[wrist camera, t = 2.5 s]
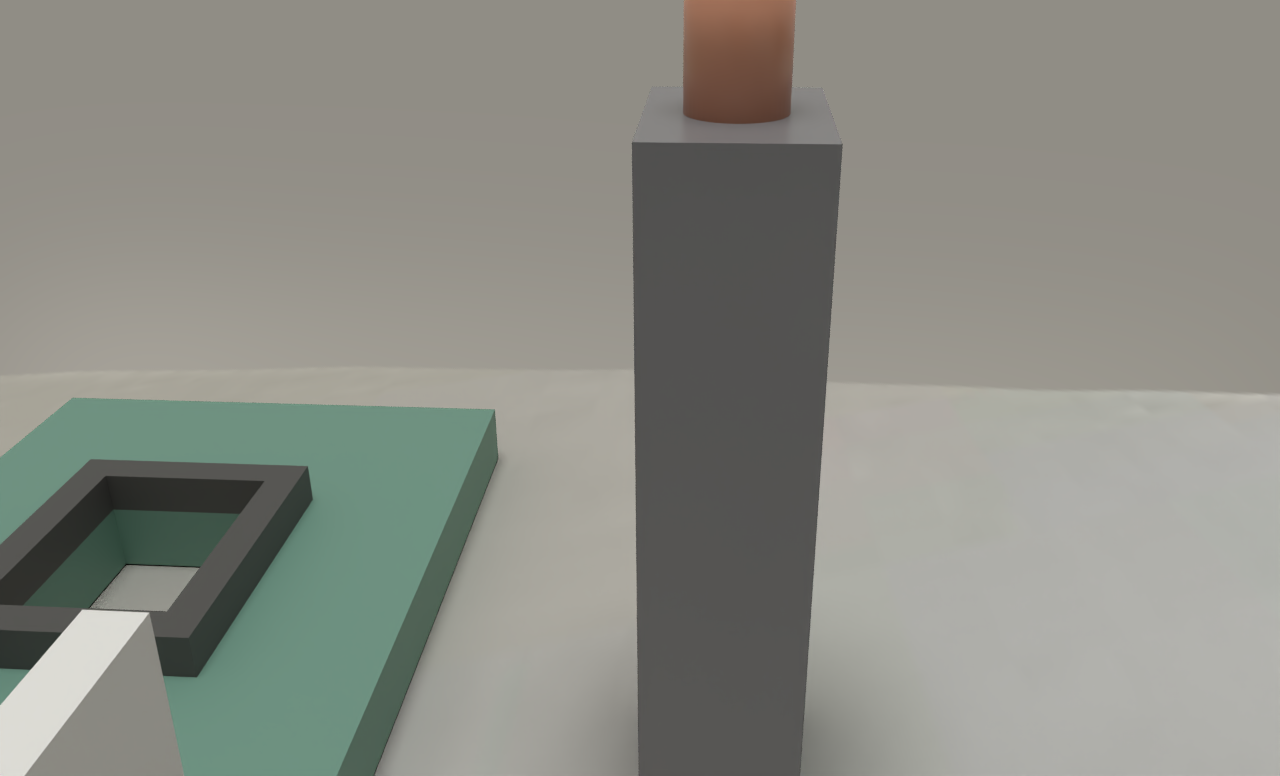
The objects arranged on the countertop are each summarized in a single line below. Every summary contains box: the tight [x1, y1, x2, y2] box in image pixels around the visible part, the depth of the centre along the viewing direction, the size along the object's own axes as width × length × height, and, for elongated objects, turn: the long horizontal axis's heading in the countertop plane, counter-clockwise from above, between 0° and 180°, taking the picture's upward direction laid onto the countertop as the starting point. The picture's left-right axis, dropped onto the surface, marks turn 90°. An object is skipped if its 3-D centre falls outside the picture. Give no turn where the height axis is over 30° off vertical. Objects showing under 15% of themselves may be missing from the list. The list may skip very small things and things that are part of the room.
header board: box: [0, 398, 498, 776], centre depth 33 cm, size 22×16×3 cm
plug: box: [632, 0, 843, 776], centre depth 24 cm, size 5×4×19 cm, turn 176°
